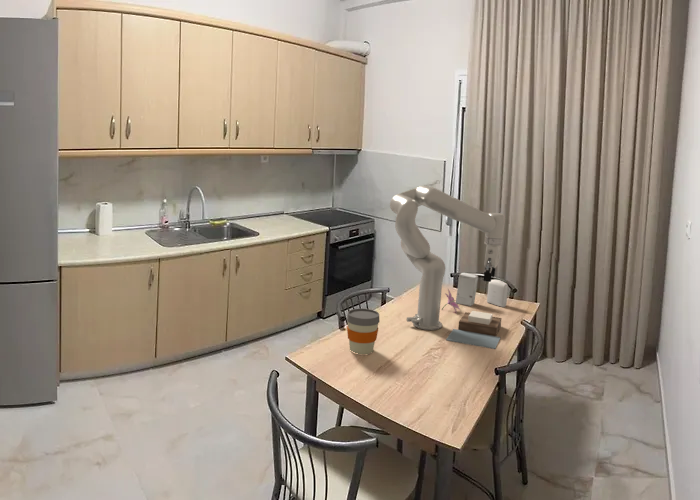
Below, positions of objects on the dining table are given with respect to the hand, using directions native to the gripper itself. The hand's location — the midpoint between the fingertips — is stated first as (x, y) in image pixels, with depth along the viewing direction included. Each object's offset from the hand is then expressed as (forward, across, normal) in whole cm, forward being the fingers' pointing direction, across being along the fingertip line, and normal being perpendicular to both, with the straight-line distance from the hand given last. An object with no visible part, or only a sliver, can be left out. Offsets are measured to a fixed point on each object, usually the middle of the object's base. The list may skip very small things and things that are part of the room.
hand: (488, 278), depth 268 cm
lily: (+21, +9, +17) cm, 28 cm away
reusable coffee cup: (+22, -58, +37) cm, 72 cm away
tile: (+16, -10, 0) cm, 19 cm away
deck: (+20, -9, 0) cm, 22 cm away
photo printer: (+20, +30, -1) cm, 37 cm away
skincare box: (+20, +24, +13) cm, 34 cm away
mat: (+21, -24, 0) cm, 31 cm away
